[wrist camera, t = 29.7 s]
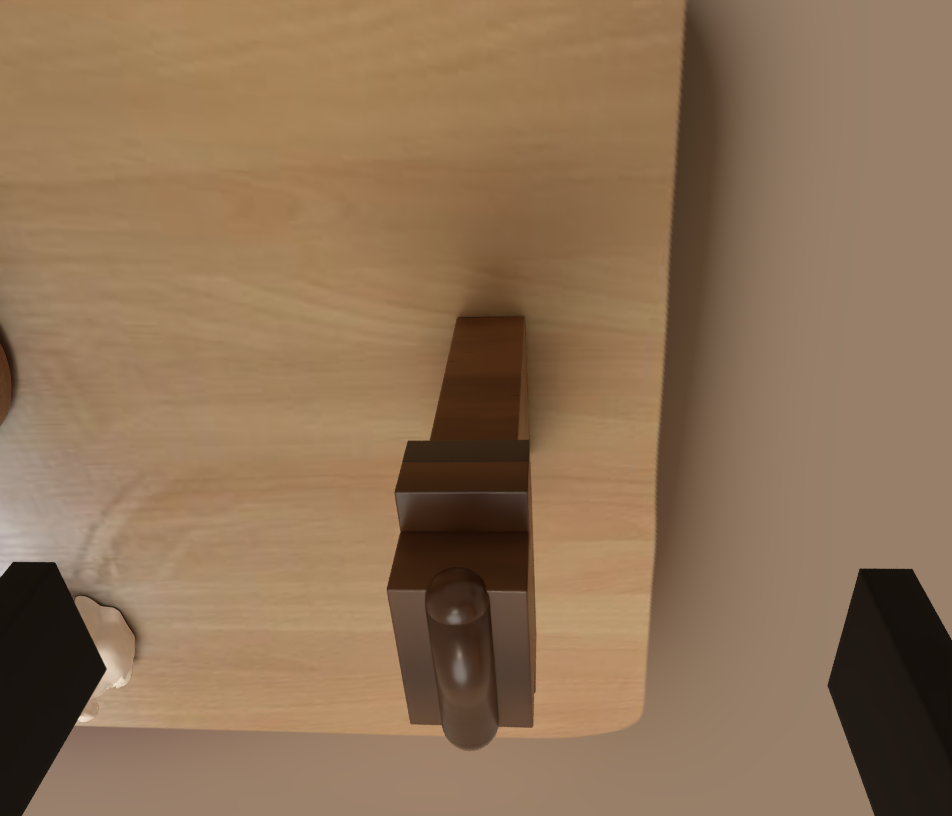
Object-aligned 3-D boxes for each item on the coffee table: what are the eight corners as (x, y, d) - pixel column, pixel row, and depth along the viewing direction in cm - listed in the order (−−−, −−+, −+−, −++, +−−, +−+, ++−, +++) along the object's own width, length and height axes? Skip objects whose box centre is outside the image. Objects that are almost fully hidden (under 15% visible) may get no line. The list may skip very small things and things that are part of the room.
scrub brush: (407, 440, 33) (372, 573, 26) (529, 438, 32) (525, 575, 26) (433, 633, 39) (411, 779, 33) (536, 635, 39) (534, 783, 32)
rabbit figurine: (16, 572, 60) (-67, 675, 52) (95, 551, 58) (21, 655, 50) (107, 670, 66) (45, 777, 58) (181, 655, 64) (127, 763, 56)
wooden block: (456, 317, 45) (424, 459, 33) (525, 315, 45) (517, 459, 33) (468, 455, 50) (444, 620, 39) (529, 455, 50) (524, 621, 38)
